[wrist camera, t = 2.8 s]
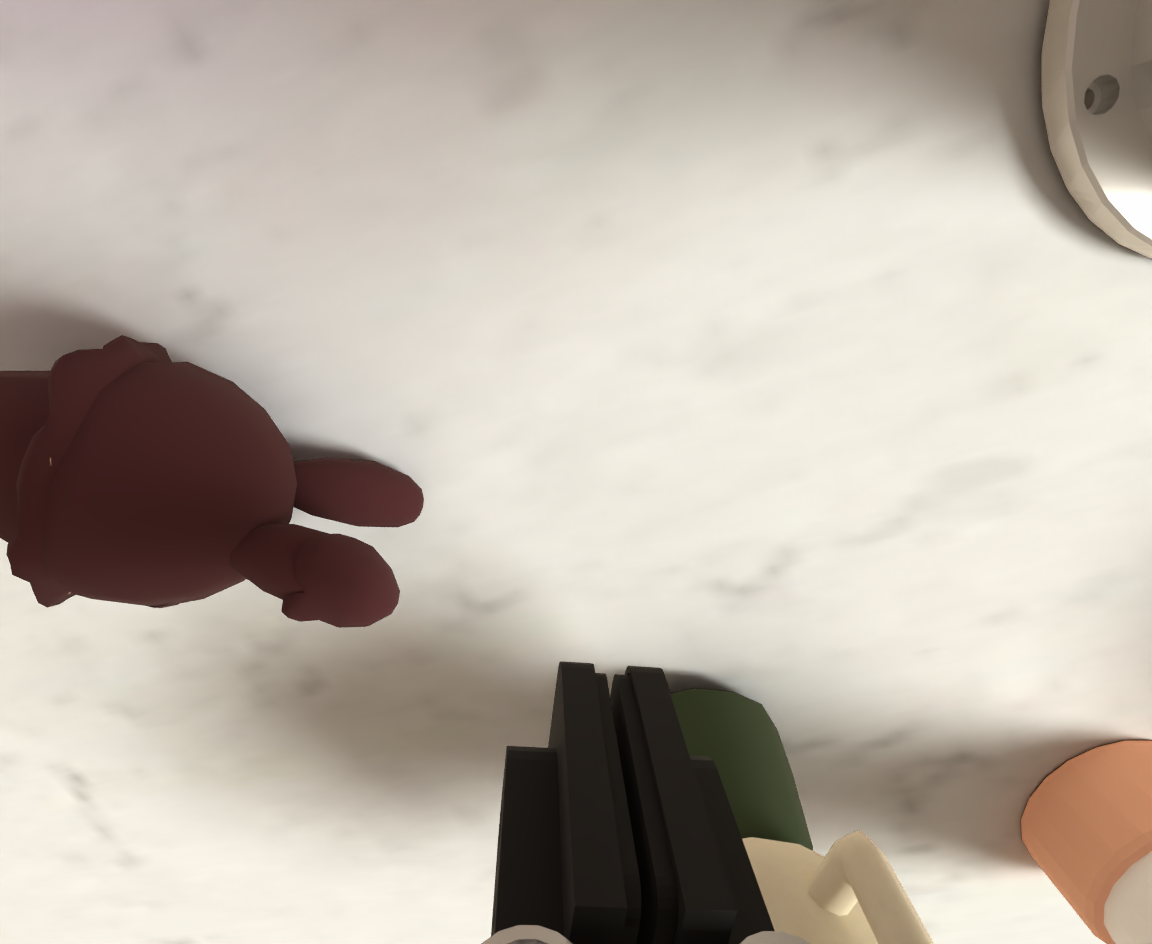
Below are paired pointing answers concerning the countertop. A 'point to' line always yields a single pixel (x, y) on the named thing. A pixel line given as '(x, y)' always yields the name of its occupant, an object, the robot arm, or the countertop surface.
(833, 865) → the character mug
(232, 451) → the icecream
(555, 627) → the countertop surface
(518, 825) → the robot arm
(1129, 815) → the salt shaker
